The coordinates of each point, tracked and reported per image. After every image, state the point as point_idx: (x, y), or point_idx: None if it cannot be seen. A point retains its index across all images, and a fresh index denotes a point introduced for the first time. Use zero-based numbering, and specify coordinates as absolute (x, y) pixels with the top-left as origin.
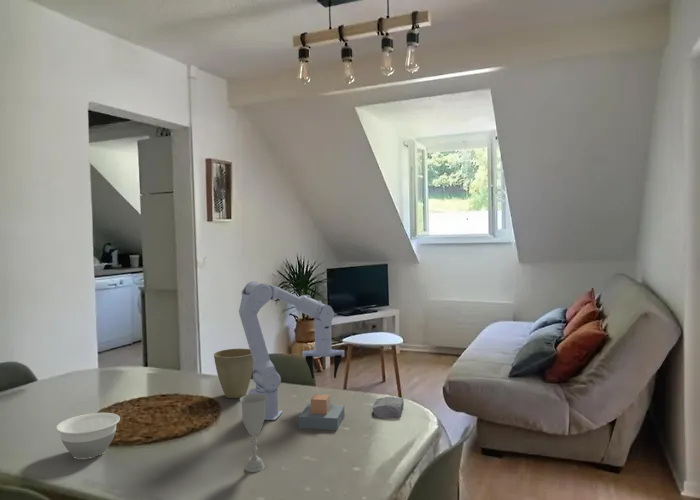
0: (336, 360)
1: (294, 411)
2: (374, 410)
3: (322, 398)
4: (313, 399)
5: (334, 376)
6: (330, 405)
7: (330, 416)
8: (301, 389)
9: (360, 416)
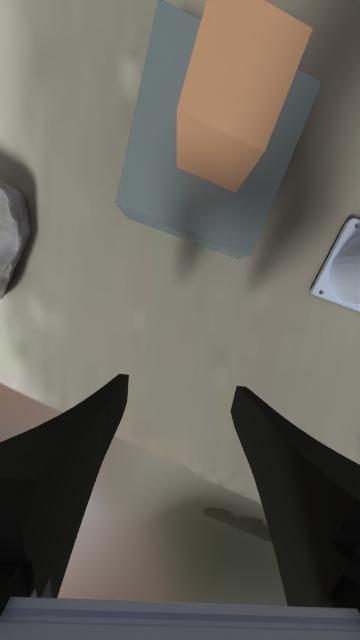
0: (10, 469)
1: (272, 295)
2: (9, 190)
3: (235, 25)
4: (296, 20)
5: (123, 377)
6: (171, 216)
7: (187, 43)
8: (224, 458)
9: (75, 202)
